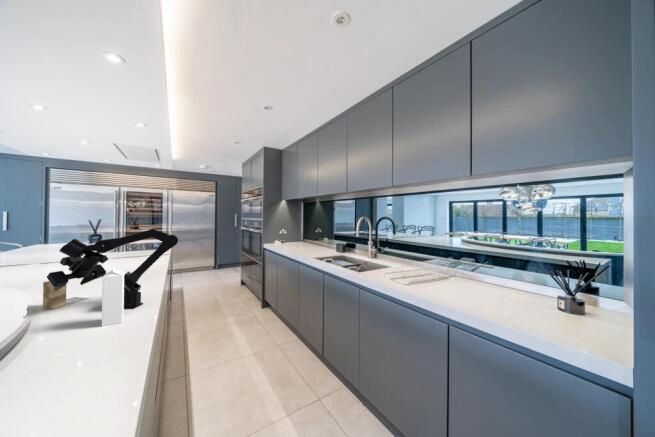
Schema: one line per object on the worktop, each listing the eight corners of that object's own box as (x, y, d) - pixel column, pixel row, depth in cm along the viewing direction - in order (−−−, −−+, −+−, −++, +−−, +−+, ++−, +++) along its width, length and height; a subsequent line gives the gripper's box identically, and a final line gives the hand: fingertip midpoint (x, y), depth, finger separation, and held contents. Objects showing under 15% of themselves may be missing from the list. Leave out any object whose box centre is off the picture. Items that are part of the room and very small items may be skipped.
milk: (101, 326, 90) (101, 268, 90) (104, 321, 95) (104, 266, 95) (122, 322, 94) (123, 267, 94) (124, 317, 98) (124, 264, 98)
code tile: (90, 299, 120) (90, 298, 120) (68, 305, 111) (68, 304, 111) (74, 298, 121) (74, 296, 121) (51, 304, 112) (51, 303, 112)
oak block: (66, 307, 109) (66, 279, 109) (51, 311, 104) (52, 282, 104) (57, 306, 110) (57, 279, 110) (42, 310, 105) (43, 282, 105)
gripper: (101, 247, 114) (83, 269, 116) (50, 253, 96) (29, 279, 98) (114, 264, 113) (96, 286, 115) (65, 273, 95) (44, 299, 97)
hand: (68, 287), depth 106 cm, fingers open, 9 cm apart
